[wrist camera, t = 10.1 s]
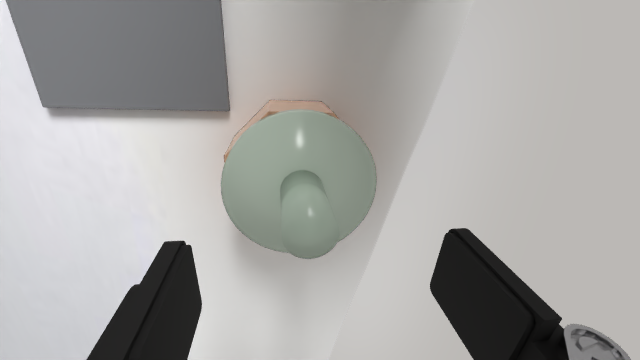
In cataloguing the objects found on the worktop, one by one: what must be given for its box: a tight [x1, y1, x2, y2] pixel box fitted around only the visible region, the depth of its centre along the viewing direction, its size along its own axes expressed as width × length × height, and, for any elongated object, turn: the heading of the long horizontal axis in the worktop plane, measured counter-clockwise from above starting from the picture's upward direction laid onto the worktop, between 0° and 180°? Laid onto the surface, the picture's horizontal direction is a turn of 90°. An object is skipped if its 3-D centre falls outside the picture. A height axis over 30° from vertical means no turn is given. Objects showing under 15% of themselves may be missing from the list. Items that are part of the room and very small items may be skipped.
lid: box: [221, 109, 376, 259], centre depth 16 cm, size 10×10×6 cm
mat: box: [6, 0, 230, 111], centre depth 17 cm, size 12×12×1 cm
